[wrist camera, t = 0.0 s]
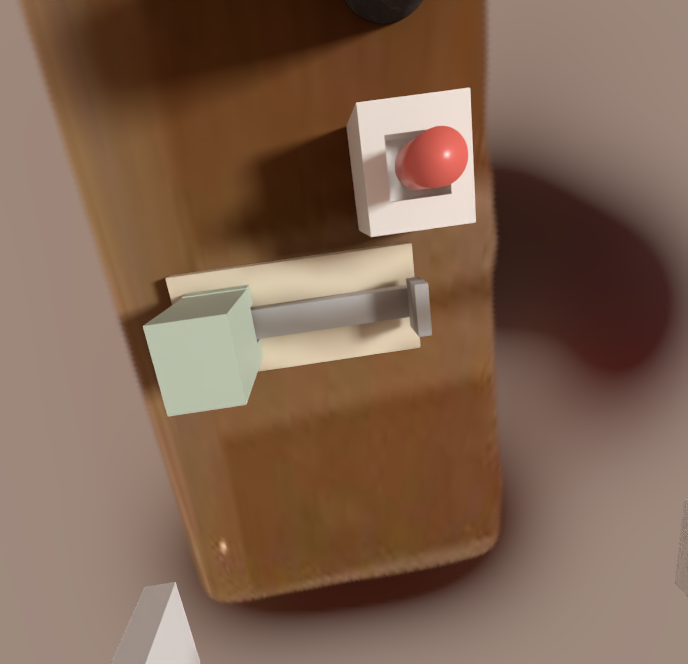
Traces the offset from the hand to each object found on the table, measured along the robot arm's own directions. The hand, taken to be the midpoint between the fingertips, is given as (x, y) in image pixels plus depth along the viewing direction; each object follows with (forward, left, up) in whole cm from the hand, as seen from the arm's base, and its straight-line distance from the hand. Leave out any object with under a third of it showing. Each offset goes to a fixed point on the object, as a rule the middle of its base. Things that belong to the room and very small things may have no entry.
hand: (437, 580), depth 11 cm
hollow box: (-11, +5, -28) cm, 31 cm away
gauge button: (-11, +5, -20) cm, 24 cm away
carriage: (-1, -10, -26) cm, 28 cm away
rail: (-1, -4, -28) cm, 28 cm away
